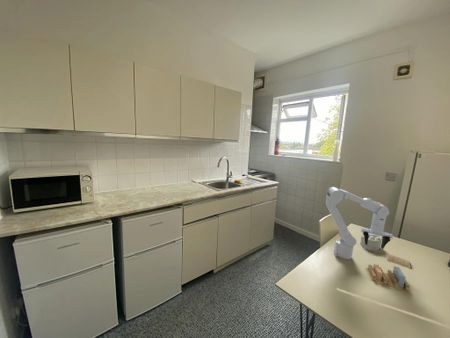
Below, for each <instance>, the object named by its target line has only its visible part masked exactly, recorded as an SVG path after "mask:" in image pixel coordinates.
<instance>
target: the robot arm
mask: <svg viewBox="0 0 450 338" xmlns="http://www.w3.org/2000/svg"><path fill="white" fill-rule="evenodd" d="M348 199H349V200H351V201H353V202H356V203H358V204H360V207H362V208H364V209H366V210H368V211H371V212H373V214H372V218H371V226H370V228H366V227H365V228H364V227H361V228H360V232H361V233H362V234H363V235H364V238H365V245H367V244H368V238H369V234H368V233H370V234H375V235H378V236H380V237H381V238H382V240H381V246H380V249H382V250H383V249H385V247H386V245H387V244H388V243H389V242H390V241H391V239H393V238H394V235H393V234H392V233H390V232H389V233H388V232H385V231H384V229H385V223H386V219H387V217H388V216H389V215H390V209H389V208H388V207H387V206H385V205H384V204H382V203H381V202H379V201H375V200H373V199H372V198H370V197H363V198H362V197H360V196H358V195H355V194H354V193H351V192H349V191H347V190H345V189H341V188H338V187H336V186H331V187H329V188H328V189H327V191H326V197H325V206H326V208H327V209H328V211H329V212H328V213H329V214H330V215H331V217H332V219H333V221H334V223H335V225H336V227H337V230H338V232H339V233H338V235H339V238H340V239H339V240H335V242H334V249H333V253H334V256H336V257H340V258H342V259H345V260H352V257H353V253H354V252H353V251H354V247H355V246H356V245H357V239H356V237H355V236H353V235H352V233H351V231H350V229H348V226H347V225H346V222H345V221H344V219H343V217H342V214H341V212H340V211H339V208H338V207H337V205H338V204H339V203H340V202H341V201H342V200H348Z"/></svg>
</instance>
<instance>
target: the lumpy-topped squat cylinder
mask: <svg viewBox="0 0 450 338" xmlns="http://www.w3.org/2000/svg"><path fill="white" fill-rule="evenodd" d="M368 234H369V238H368V244H367V245H365V238H364V235H363V233H361V235H360V243H359V245H360V246H361V247H362V248H363V249H365V250H368V251H372V252H374V251H375V252H377V251H379V250H380V249H381V243H382V236H378V235H375V234H370V233H368Z"/></svg>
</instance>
